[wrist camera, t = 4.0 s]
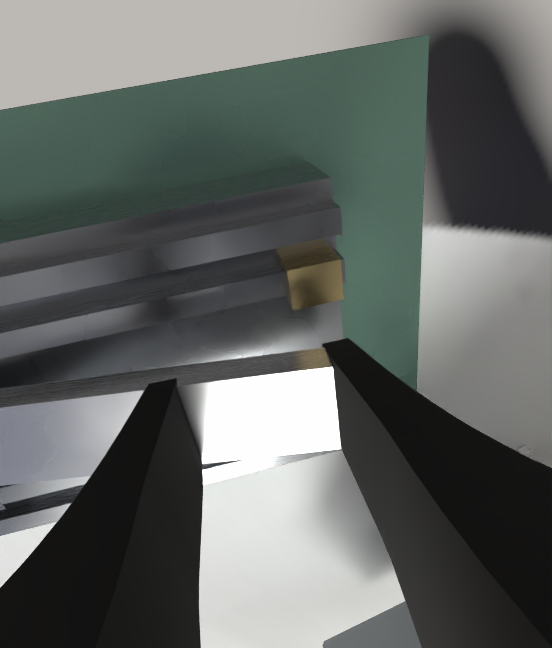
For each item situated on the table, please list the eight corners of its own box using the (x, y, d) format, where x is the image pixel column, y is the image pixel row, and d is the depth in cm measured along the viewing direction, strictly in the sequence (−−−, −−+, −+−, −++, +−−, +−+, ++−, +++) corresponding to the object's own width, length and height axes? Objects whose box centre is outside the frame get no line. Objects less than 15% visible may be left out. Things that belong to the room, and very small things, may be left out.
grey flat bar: (-55, 473, 11) (-80, 503, 10) (-123, 394, 10) (-156, 422, 9) (336, 429, 11) (342, 457, 10) (327, 336, 9) (333, 362, 8)
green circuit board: (-40, 519, 16) (-100, 636, 13) (-354, 172, 9) (-657, 226, 6) (404, 409, 18) (455, 489, 14) (410, 38, 11) (512, 21, 7)
